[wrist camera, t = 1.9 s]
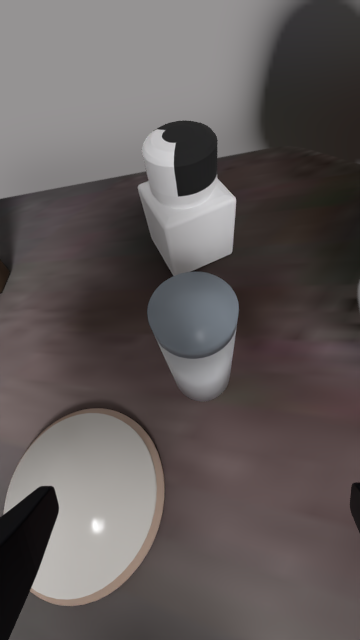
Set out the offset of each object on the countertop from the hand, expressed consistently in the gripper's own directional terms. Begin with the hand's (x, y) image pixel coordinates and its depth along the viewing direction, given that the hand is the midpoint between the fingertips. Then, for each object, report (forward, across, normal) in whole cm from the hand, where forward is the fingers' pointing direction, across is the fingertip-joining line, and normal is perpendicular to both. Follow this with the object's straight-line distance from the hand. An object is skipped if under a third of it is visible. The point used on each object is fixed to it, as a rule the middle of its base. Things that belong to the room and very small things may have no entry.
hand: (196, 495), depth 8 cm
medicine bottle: (+26, 0, -7) cm, 27 cm away
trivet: (+9, +9, +10) cm, 16 cm away
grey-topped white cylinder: (+15, 0, +4) cm, 16 cm away
